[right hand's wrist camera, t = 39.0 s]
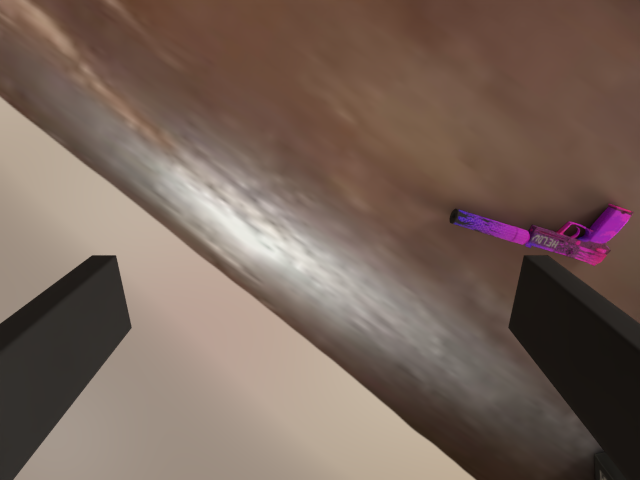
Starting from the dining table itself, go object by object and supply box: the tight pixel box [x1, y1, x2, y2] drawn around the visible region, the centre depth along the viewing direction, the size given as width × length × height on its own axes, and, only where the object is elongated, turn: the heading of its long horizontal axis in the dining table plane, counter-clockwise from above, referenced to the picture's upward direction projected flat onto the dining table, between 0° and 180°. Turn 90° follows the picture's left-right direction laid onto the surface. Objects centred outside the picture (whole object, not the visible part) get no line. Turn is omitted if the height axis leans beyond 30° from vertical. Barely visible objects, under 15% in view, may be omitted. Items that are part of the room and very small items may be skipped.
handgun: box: [450, 204, 634, 266], centre depth 46 cm, size 21×8×2 cm, turn 74°
